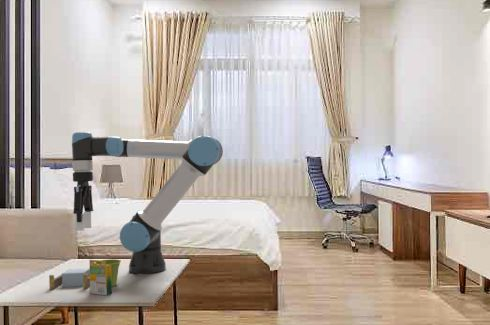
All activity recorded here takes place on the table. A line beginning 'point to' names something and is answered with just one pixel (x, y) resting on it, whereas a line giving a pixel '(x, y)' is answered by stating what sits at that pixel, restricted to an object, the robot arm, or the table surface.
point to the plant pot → (112, 268)
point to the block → (74, 277)
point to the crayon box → (100, 278)
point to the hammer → (58, 281)
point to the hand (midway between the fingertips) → (84, 229)
